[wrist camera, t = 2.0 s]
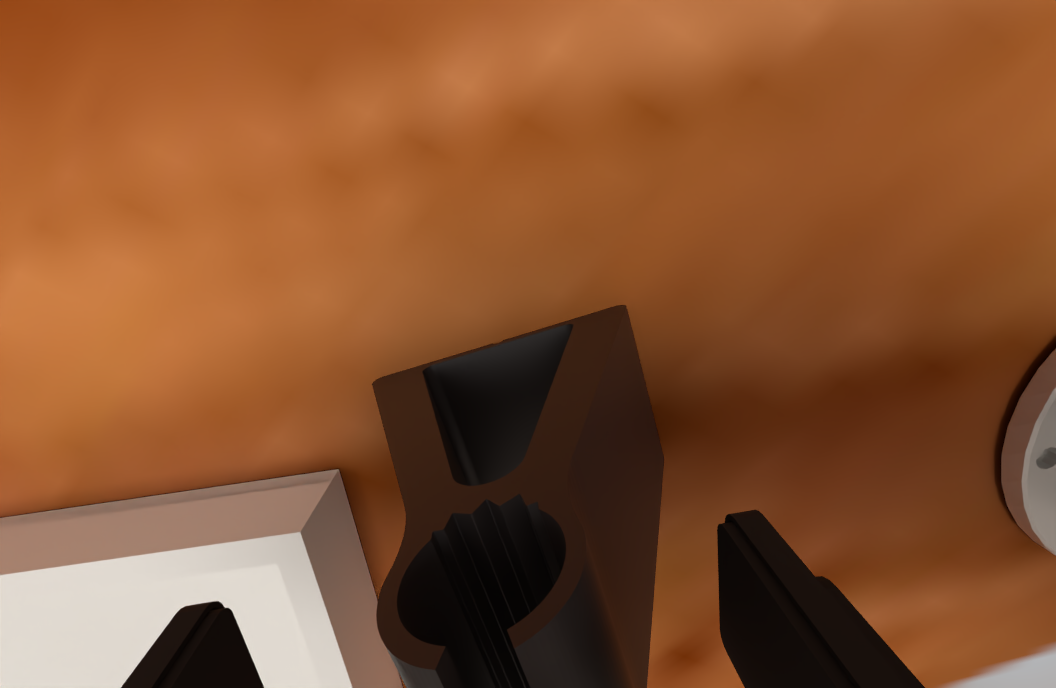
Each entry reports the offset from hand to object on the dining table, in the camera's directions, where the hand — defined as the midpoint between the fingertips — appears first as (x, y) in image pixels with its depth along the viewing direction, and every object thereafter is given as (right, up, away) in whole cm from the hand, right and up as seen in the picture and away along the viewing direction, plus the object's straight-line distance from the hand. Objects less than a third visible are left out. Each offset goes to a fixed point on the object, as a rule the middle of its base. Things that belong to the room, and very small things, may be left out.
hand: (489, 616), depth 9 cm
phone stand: (+1, +3, +9) cm, 9 cm away
